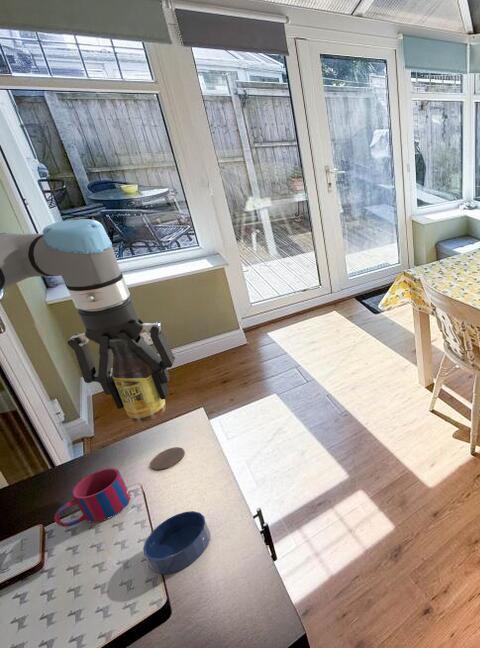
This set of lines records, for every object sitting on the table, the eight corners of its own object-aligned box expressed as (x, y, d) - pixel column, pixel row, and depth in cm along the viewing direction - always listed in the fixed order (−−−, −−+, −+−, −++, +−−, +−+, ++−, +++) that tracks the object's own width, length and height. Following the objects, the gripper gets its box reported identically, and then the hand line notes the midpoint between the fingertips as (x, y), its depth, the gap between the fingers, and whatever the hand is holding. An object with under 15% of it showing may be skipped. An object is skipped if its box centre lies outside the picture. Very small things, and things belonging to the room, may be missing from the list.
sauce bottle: (122, 422, 85) (85, 342, 77) (150, 401, 91) (119, 324, 83) (149, 427, 84) (115, 346, 76) (176, 405, 90) (147, 328, 82)
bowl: (143, 583, 70) (136, 569, 68) (158, 536, 77) (151, 522, 76) (205, 561, 73) (199, 547, 72) (214, 518, 81) (208, 504, 79)
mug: (137, 501, 83) (125, 477, 81) (70, 544, 75) (55, 519, 73) (122, 486, 86) (110, 462, 84) (56, 526, 78) (41, 501, 75)
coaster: (147, 473, 89) (147, 472, 89) (155, 453, 94) (155, 452, 94) (181, 464, 91) (180, 463, 91) (187, 445, 96) (186, 444, 96)
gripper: (22, 322, 70) (74, 425, 79) (163, 302, 77) (196, 398, 87) (44, 302, 76) (91, 400, 85) (173, 286, 83) (203, 377, 93)
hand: (144, 399), depth 86 cm, fingers closed on sauce bottle, 6 cm apart
